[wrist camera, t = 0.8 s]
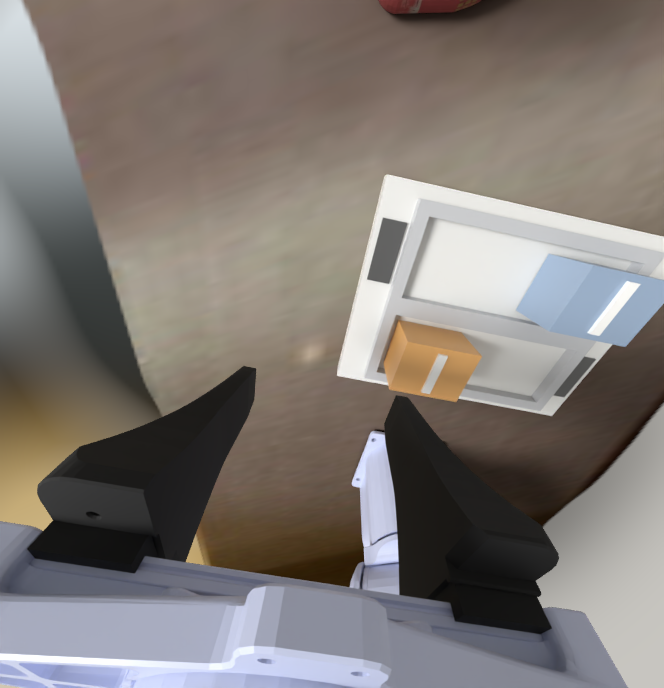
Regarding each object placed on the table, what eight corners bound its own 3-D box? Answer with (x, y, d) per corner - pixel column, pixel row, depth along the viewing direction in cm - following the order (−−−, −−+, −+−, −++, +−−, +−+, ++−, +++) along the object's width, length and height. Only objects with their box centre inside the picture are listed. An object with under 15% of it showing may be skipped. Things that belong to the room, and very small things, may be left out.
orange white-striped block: (440, 373, 22) (457, 403, 18) (383, 362, 21) (389, 391, 18) (461, 332, 20) (483, 358, 16) (398, 319, 19) (408, 343, 16)
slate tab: (580, 323, 19) (628, 348, 16) (515, 310, 19) (551, 332, 15) (620, 269, 17) (684, 285, 14) (548, 253, 17) (597, 266, 13)
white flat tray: (543, 406, 24) (558, 422, 23) (337, 367, 23) (336, 381, 22) (675, 241, 17) (713, 246, 15) (384, 176, 16) (388, 173, 14)
